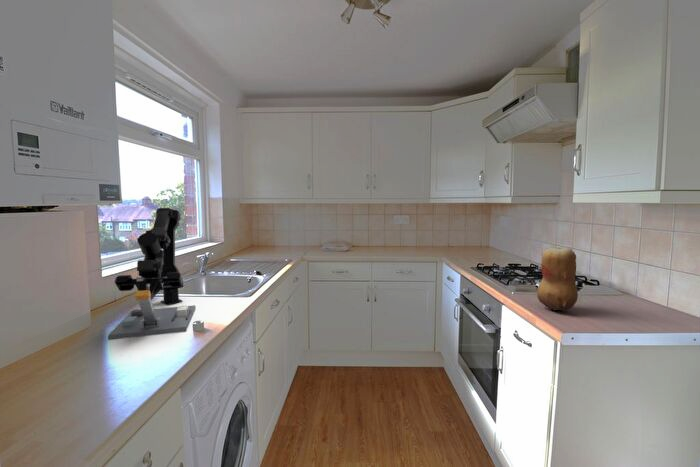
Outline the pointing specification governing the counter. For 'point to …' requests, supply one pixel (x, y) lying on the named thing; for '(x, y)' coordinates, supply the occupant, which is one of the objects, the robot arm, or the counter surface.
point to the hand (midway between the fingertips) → (146, 304)
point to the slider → (182, 312)
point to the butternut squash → (558, 279)
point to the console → (165, 324)
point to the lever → (146, 307)
